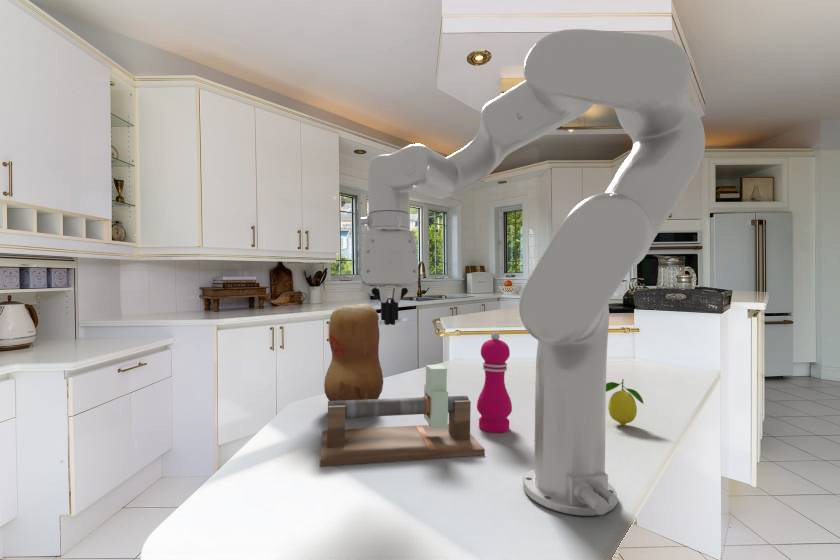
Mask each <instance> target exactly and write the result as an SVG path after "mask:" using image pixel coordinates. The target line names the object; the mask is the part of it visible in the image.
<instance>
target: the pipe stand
mask: <svg viewBox="0 0 840 560" xmlns="http://www.w3.org/2000/svg"><path fill="white" fill-rule="evenodd" d="M430 400H431V398H430V397H429V396H424V395H423V396H422V397H401V398H400V397H399V398H378V399H368V400H343V401H329V400H328V401H327V426H326V427H327V429H325V430H324V429H323V430H321V445H320V457H319V460H320V461H319V463H320V464H319V467H329V466H330V467H331V466H334V467H335V466H346V465H347V466H348V465H359V464H361V465H362V464H373V463H375V464H376V463H389V462H402V461H405V462H406V461H417V460H430V459H431V460H433V459H442V458H443V459H444V458H445V459H446V458H459V457H473V456H485V455H486V454H485V452H486V449H485V448H484V447H483V446H482V444H481V443H479V441H478V440H477V439H476V438H475V437H474V436H473V435H472V433H471V400H470V397H469V396H468V395H451V396H450V395H448V428H431V427H430V425H429V424H420V425H418V424H417V425H402V426H383V427H366V428H365V427H363V428H347V429H346V419H349V418H368V417H369V418H370V417H371V418H372V417H388V416H389V417H390V416H392V417H393V416H410V415H411V416H413V415H414V416H415V415H423V416H424V415H430Z"/></svg>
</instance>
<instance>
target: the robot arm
mask: <svg viewBox="0 0 840 560" xmlns="http://www.w3.org/2000/svg"><path fill="white" fill-rule="evenodd" d="M523 76H524V79H525V80H523V81H522V82H520V83H518V84H516V85H515V86H514V87H511V88H510V89H509V90H507V91H506V92H504V93H501V94H500V95H499V96H497V97H495V98H494V99H491V100H489V101H488V102H486V103H485V104H484V106H483V107H482V109H481V112H480V124H479V125H480V126H479V129H478V131H477V134H476V136H474V138H473V140H472V141H470V142H469V143H468V144H467V145H465V146H464V147H463V148H461V149H460V150H457V151H455V152H453V153H452V154H451V155H447V157H446V156H444V155H442V154H441V153H439V152H437V151H435V150H433V149H431V148H430V147H428V146H426V145H424V144H421V143H415V144H414V143H413V144H409V145H407V146H405V147H403V148H400V149H399V150H396V151H394V152H392V153H390V154H380V155H376V156H373V157H372V158H371V159H370V160H369V162H368V166H367V167H368V168H367V170H368V171H367V173H368V175H367V176H368V177H367V182H368V183H367V185H368V188H367V189H368V195H367V196H368V199H367V200H368V201H367V202H368V203H367V204H368V215H366V216H364V217H360V225H361V226H365V227H367V230H364V234H363V240H362V242H363V243H362V249H361V269H360V275H361V276H360V278H361V282H360V287H359V291H360V292H363V293H366V294H370V295H373V296H374V297H375V298H376V299H377V300H378V301H379V302H380V319H381V321H383V322H384V323H383V324H384V325H385V326H390V325H392V326H395V325H396V321H399V302H400V301H401V300H402V299H403V298H404V297H405V296H406V295H407V294H411V293H415V292H418V291H419V289H420V288H419V284H418V281H419V262H418V261H419V259H418V257H419V256H418V248H417V240H416V235H415V231H413V230H410V191H412V192H413V191H414V192H417V193H421V194H424V195H427V196H428V197H431V198H435V199H446V198H450V197H452V196H454V195H455V196H456V195H457V194H459V193H461V192H463V191H465V190H467V189H469V188H471V187H473V186H475V185H477V184H478V183H480V182H482V181H483V180H484V179H486V178H487V177H488V176H489V175H491V173H493V172H494V170H495V169H496V168H498V167H499V166H500V165H501V163H502V162H503V160H504V159H505V158H506V157H507V156H509V155H510V154H511V153H514V152H515V151H517V150H518V149H520V148H522V147H524V146H526V145H528V144H530V143H531V142H534V141H535V140H537V139H539V138H541V137H543V136H545V135H547V134H549V133H550V132H553V131H554V130H556V129H558V128H560V127H562V126H564V125H566V124H567V123H570V122H571V121H574V120H575V119H577V118H579V117H580V116H583V115H584V114H586V112H588V111H589V110H590V109H591V108H592V107H593V106H594V105H597V106H602V107H609V108H612V109H614V112H615V114H616V117H617V119H618V121H619V124H620V126H621V128H622V129H623V131H624V132H625V133H626V134H627V135H628V136H629V137H630V139H631V141H632V148H631V149H632V150H631V151H630V153H629V155H628V156H627V157H626V159H624V161H623V163H622V164H621V166H620V167H619V169H618V170H617V172H616V173H615V174H614V178H613V179H612V180H611V183H610V184H609V185H608V187H607V189H606V190H605V192H601V193H598V194H594V195H591V196H588V197H587V198H585V199H584V200H581V202H579V203H578V204H576V206H574V207H573V209H571V211H570V212H568V214H567V215H566V217H565V218H564V219H563V221H562V222H561V225H560V226H559V227H558V229H557V231H556V232H555V234H554V235H553V237H552V238H551V240H550V242H549V244H548V245H547V247H546V249H545V250H544V252H543V254H542V256H541V258H540V259H539V261H538V262H537V264H536V265H535V268H534V269H533V271H532V272H531V274H530V276H529V278H528V279H527V280H526V283H525V285H524V287H523V288H522V291H521V294H520V296H519V297H520V298H519V301H518V303H519V304H518V311H519V317H520V320H521V323H522V326H523V327H524V329H525V330H526V331H527V333H528V334H529V335H531V337H533V338H534V339H536V340H537V348H536V359H535V380H534V381H535V391H534V392H535V395H534V397H535V398H534V400H535V401H534V403H535V404H534V405H535V406H534V457H533V458H534V465H533V467H534V469H530V470H529V471H527V472H526V473H525V474H524V476H523V479H522V480H523V481H522V487H523V490H524V492H525V493H526V495H527V496H528V497H529V498H530V499H531V500H533V501H534V502H536V503H537V504H539V505H541V506H543V507H545V508H548V509H550V510H552V511H556V512H559V513H563V514H567V515H572V516H582V517H583V516H586V517H587V516H588V517H589V516H590V517H591V516H592V517H593V516H603V515H605V514H607V513H609V512H611V511H612V510H614V508H615V507H616V506H617V504H618V503H619V498H618V493H617V491H616V489H615V488H614V487H613V486H612V484H610V483H609V475H608V474H607V473H606V412H607V411H606V409H607V408H606V406H607V405H606V402H607V399H606V398H607V395H606V393H607V392H606V383H607V359H608V356H607V355H608V341H609V340H608V339H609V325H610V324H609V323H610V306H609V302H610V300H611V299H612V297H614V294H615V293H616V292H617V290H618V289H619V287H620V285H621V284H622V283H623V281H624V280H625V279H626V276H627V275H628V274H629V272H630V270H631V269H632V268H634V267H636V266H637V265H638V264H640V262H642V261H643V260H644V259H645V257H646V256H647V254H648V252H649V250H650V248H651V245H652V244H653V242H654V241H655V239H656V237H657V235H658V234H659V232H660V231H661V229H662V228H663V226H664V225H665V223H666V221H668V218H669V217H670V216H671V214H672V213H673V211H674V209H675V208H676V205H677V204H678V203H679V201H680V199H681V197H682V196H683V194H684V193H685V191H686V189H687V188H688V186H689V185H690V184H691V181H692V180H693V178H694V177H695V176H696V174H697V171H698V170H699V168H700V165H701V163H702V160H703V158H704V154H705V148H706V133H705V128H704V124H703V121H702V119H701V117H700V116H699V114H698V112H697V110H696V109H695V107H694V105H693V103H692V102H691V99H690V95H691V93H690V92H691V91H690V90H691V89H690V88H691V78H692V68H691V61H690V59H689V56H688V53H687V52H686V51H685V49H684V48H683V47H682V46H681V45H680V44H678V43H677V42H676V41H674V40H672V39H669V38H666V37H664V36H660V35H653V34H645V33H634V32H633V33H632V32H625V31H623V32H620V31H609V30H601V29H598V30H597V29H585V28H584V29H583V28H571V29H563V30H558V31H554V32H551V33H549V34H547V35H544V36H543V37H542V38H540V39H539V40H538V41H537V42H536V43H534V45H533V46H532V47H531V48H530V50H529V51H528V53H527V55H526V57H525V60H524V64H523ZM372 286H374V287H372ZM375 286H376V287H375ZM387 286H389V287H390V286H392V293H391V294H392V295H391V298H390V300H389V298H388V295H387V289H386V287H387ZM403 286H404V287H403ZM389 301H390V302H389Z"/></svg>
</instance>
